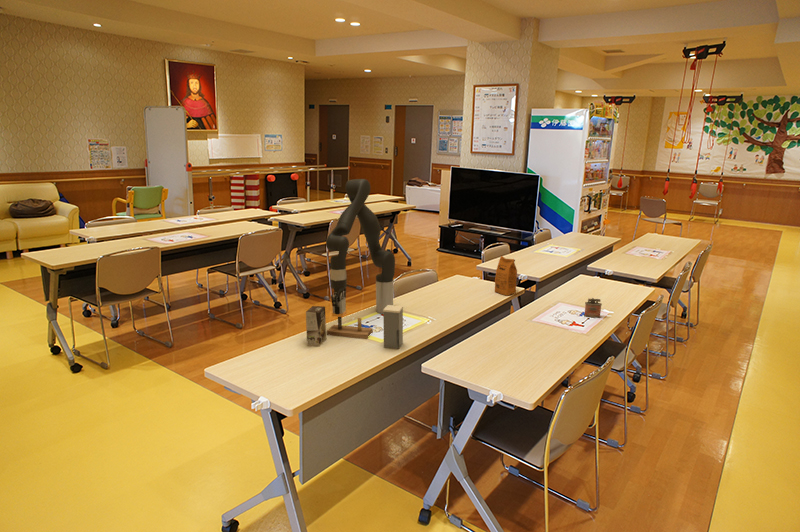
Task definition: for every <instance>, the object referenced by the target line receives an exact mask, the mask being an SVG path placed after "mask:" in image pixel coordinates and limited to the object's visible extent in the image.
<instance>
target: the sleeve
mask: <svg viewBox="0 0 800 532" xmlns="http://www.w3.org/2000/svg"><path fill="white" fill-rule="evenodd" d="M346 299H347V298H341V301H340V305H339V308H340V313H339V314H335V307H334V306H332V313H331V316H332V317H337V318H338V317H342V318H344V316H345V315H347V309H346V307H347V305H346V304H347V303H346V302H347V301H346ZM337 300H339V299H337Z"/></svg>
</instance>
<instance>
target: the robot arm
mask: <svg viewBox="0 0 800 532" xmlns="http://www.w3.org/2000/svg"><path fill="white" fill-rule="evenodd" d="M345 192H346V195H347V197H348V199H349V201H350V204H349V205H348V206H347V207H346V208H345V209H344V210H343V211H342V213H341V214H340V215H339V218H338V221H337V223H336V225H335V227H334V228H333V230H332V231H331V232H330V233H329V235H328V236H327V238H326V240H325V246H326V249H327V250H328V251H335V252H338V254H336V255H332V256H331V257H330V260H329V261H330V271H329V272H330V273H329V276H330V279H329V280H330V288H331V289H332V290H333V293H332V294H331V295H330V299H331V305H332V307H333V306H334V307H335V314H339V313H340V308H339V305H340V301H341V298H346V297H347V287H348V286H347V281H348V280H347V268H346V264H347V263H346V260H347V254H348V251H349V246H350V241H349V239H348V237H346V236H347V235H349V234H350V233H351V230H352V228H353V226H354V223H355V221H356V218H357V220H358V222H359V225H360V228H361V231H362V232H363V235H364V237H365V240H366V244H367V245H368V246H367V247H368V249H369V253H370V258H371V261H372V263H373V265H374V266H375V267H377V268H381V273H378V274H376V275H375V312H376V313H377V314H383V310H384V308H385V307H386V306H387V305H394V277H395V269H396V257H395V255H394V253H393V252H391V251H387V250H384V249H383V247H382V246H381V243H380V237H381V231H382V230H381V229H382V227H381V225H380V221H379V219H378V217H377V215H376V214H375V213H374V212H373V211H372V210H371V209H370V208H369V207H368V206H367V205H366V204H365V202H366V201H367V200H368V197H369V196H370V193H371V184H370V181H369V180H368V179H365V178H355V179H349V180H347V181H346V183H345ZM337 299H339V300H337ZM346 299H347V298H346Z"/></svg>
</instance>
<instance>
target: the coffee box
mask: <svg viewBox="0 0 800 532" xmlns="http://www.w3.org/2000/svg"><path fill="white" fill-rule="evenodd" d="M326 317H327V316H326V306H322V305H321V306H319V305H317V306H316V305H312V306H311V307H309V308H308V309H307V310H306V311H305V324H306V325H305V326H306V346H313V347H320V346H321V345H323V343H324V342H325V341H326V340H327V327H326V326H327V322H326V319H327V318H326Z"/></svg>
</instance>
